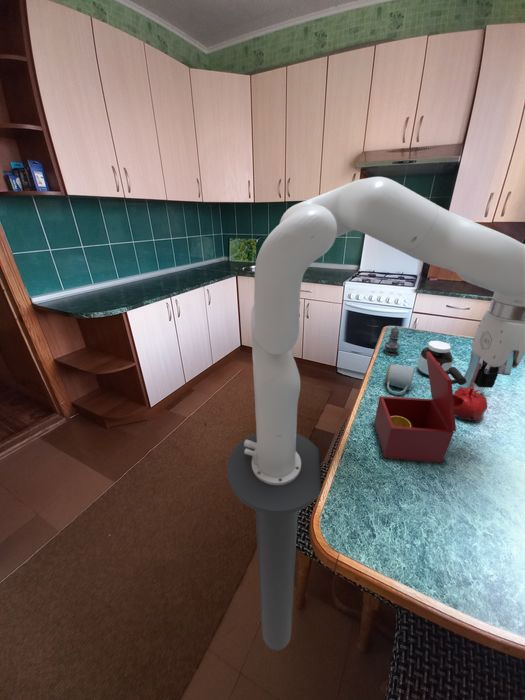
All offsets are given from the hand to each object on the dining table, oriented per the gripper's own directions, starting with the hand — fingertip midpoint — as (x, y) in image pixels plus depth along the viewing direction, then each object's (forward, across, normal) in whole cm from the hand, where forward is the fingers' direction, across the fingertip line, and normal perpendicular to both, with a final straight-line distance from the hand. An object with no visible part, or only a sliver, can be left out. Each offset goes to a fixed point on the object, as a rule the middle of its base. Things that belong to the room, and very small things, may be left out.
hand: (483, 385), depth 67 cm
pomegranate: (+19, -14, +7) cm, 25 cm away
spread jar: (+19, -38, +7) cm, 43 cm away
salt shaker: (+19, -51, -5) cm, 55 cm away
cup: (+18, 0, -16) cm, 24 cm away
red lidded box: (+19, 0, -13) cm, 23 cm away
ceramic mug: (+19, -26, -9) cm, 33 cm away
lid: (+2, 0, -9) cm, 9 cm away
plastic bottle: (+19, -26, +14) cm, 35 cm away
